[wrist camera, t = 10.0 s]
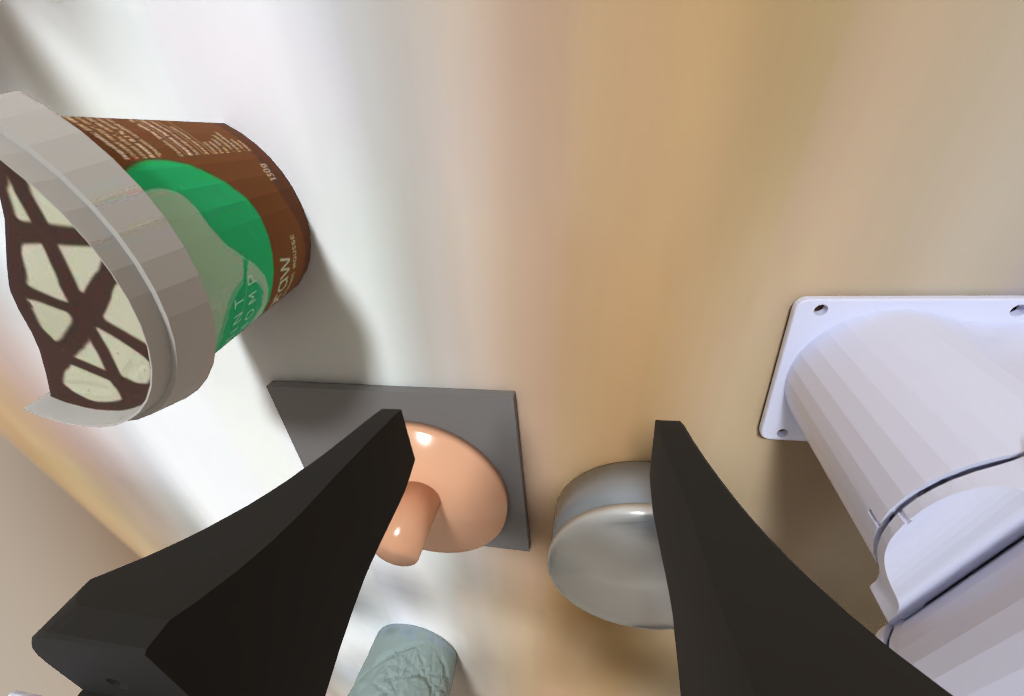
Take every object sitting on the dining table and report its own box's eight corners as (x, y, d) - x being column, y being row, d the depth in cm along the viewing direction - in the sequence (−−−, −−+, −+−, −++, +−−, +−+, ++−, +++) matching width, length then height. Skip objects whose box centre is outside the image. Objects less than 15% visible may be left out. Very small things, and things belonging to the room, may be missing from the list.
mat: (514, 391, 25) (513, 397, 24) (530, 543, 32) (529, 551, 31) (272, 380, 28) (266, 386, 27) (336, 521, 35) (332, 528, 34)
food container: (312, 354, 26) (173, 482, 18) (216, 309, 25) (26, 418, 17) (354, 154, 19) (162, 207, 11) (225, 88, 19) (-80, 90, 10)
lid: (529, 456, 26) (514, 524, 22) (488, 561, 33) (471, 627, 29) (344, 396, 26) (297, 452, 22) (340, 512, 33) (303, 571, 29)
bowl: (749, 463, 24) (772, 524, 21) (717, 579, 30) (731, 642, 26) (550, 450, 26) (543, 503, 23) (556, 560, 32) (551, 615, 29)
